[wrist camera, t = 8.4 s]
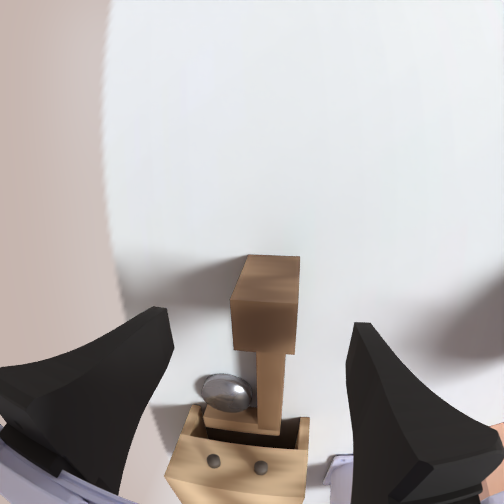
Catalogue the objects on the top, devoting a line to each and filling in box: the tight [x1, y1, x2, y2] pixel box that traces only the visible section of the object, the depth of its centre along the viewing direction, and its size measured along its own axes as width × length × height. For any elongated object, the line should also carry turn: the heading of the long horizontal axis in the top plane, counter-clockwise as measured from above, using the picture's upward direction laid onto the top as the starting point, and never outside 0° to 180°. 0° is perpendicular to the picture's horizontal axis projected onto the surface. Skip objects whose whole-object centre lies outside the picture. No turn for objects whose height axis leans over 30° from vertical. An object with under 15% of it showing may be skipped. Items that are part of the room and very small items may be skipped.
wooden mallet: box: [203, 255, 300, 436], centre depth 19 cm, size 7×16×5 cm, turn 1°
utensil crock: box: [479, 423, 504, 501], centre depth 18 cm, size 12×12×13 cm
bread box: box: [164, 404, 310, 504], centre depth 22 cm, size 10×10×8 cm
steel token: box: [201, 374, 252, 413], centre depth 23 cm, size 4×4×1 cm
